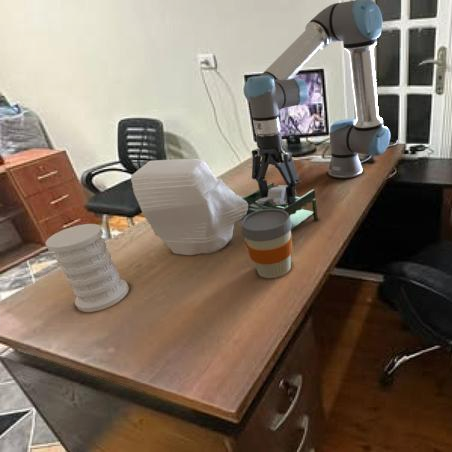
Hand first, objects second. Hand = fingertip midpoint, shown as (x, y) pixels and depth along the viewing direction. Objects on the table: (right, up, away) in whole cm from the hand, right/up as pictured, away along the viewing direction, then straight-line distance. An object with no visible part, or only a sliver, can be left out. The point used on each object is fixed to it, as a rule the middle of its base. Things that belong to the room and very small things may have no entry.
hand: (278, 202), depth 113 cm
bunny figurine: (0, 0, 0) cm, 1 cm away
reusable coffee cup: (+2, -19, -18) cm, 27 cm away
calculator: (-13, -2, +15) cm, 20 cm away
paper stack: (-23, -14, -6) cm, 27 cm away
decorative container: (-41, -26, -24) cm, 54 cm away
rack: (+1, -7, +4) cm, 8 cm away
